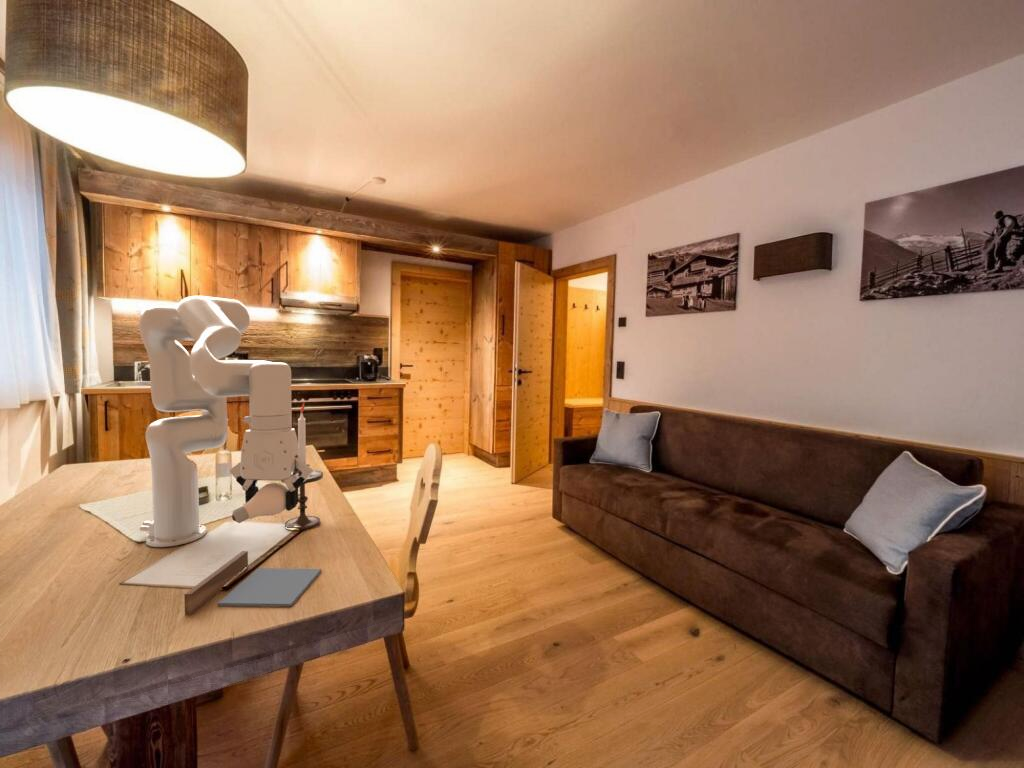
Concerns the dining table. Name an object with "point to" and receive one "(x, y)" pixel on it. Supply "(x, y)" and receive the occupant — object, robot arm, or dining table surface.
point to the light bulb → (263, 503)
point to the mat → (271, 587)
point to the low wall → (214, 583)
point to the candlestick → (304, 520)
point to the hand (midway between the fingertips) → (272, 507)
